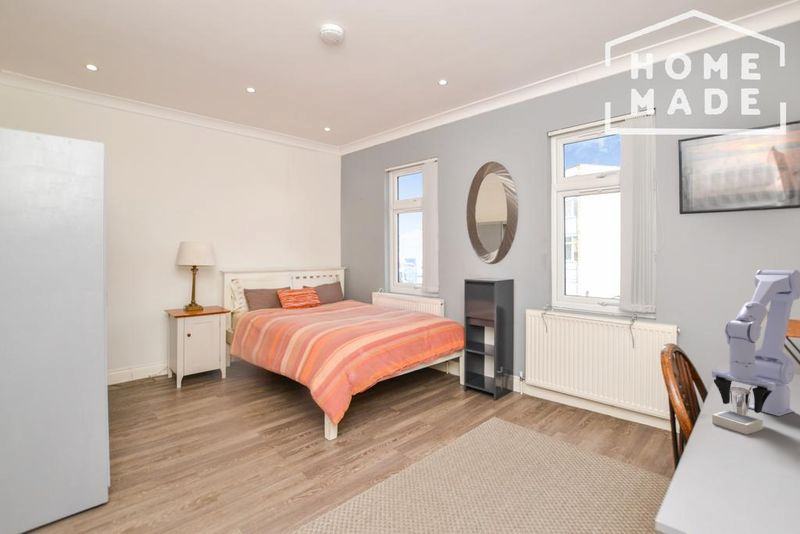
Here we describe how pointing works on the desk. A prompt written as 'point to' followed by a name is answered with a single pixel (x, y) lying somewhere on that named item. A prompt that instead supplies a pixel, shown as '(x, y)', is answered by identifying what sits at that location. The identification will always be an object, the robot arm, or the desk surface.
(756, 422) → the plinth
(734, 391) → the milkshake
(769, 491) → the desk surface
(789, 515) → the desk surface
